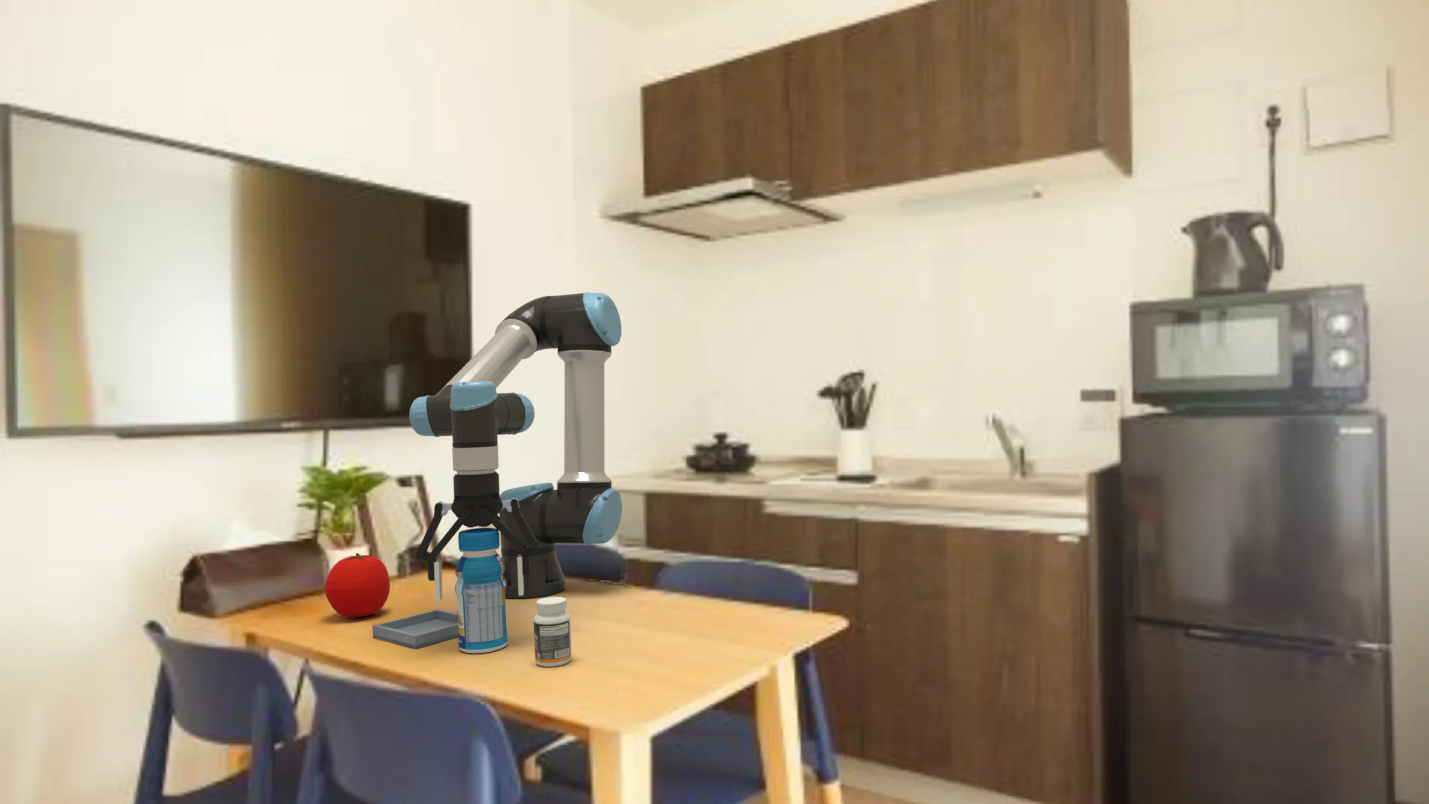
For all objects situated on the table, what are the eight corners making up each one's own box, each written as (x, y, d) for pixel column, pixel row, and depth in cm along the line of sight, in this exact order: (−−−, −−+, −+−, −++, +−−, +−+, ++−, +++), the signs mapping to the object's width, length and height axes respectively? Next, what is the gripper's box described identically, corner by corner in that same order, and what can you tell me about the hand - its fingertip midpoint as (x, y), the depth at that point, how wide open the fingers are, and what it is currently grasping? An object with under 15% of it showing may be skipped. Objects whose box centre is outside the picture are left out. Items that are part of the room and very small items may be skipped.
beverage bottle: (482, 657, 143) (477, 535, 143) (446, 651, 148) (441, 532, 148) (519, 643, 150) (514, 527, 150) (484, 638, 155) (479, 525, 155)
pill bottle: (537, 658, 142) (535, 597, 142) (573, 655, 142) (570, 594, 142) (533, 668, 136) (530, 605, 136) (570, 666, 137) (567, 603, 137)
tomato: (376, 606, 183) (374, 546, 183) (401, 614, 174) (398, 551, 174) (315, 618, 174) (312, 555, 174) (338, 628, 166) (335, 562, 166)
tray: (438, 620, 169) (437, 609, 169) (481, 630, 160) (481, 618, 160) (372, 637, 158) (372, 625, 158) (415, 649, 150) (415, 636, 150)
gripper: (551, 467, 155) (555, 587, 155) (403, 473, 150) (407, 597, 150) (550, 470, 147) (554, 596, 147) (395, 477, 143) (399, 606, 143)
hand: (480, 597), depth 149 cm, fingers open, 13 cm apart
